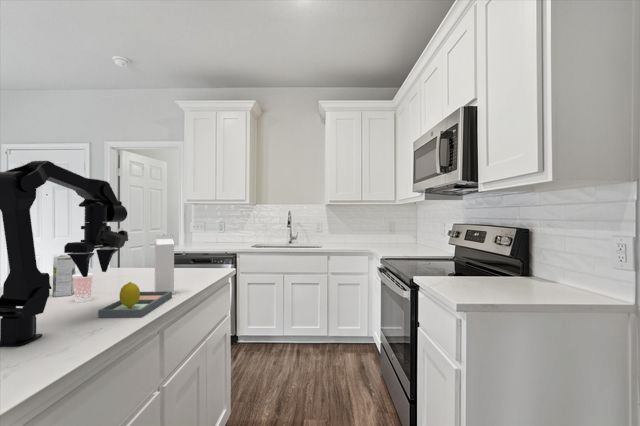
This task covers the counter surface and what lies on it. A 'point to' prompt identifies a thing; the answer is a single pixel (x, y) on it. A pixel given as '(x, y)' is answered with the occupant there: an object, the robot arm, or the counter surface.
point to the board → (136, 306)
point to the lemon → (129, 294)
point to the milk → (164, 263)
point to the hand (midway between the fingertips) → (95, 274)
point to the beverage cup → (82, 287)
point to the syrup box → (63, 276)
